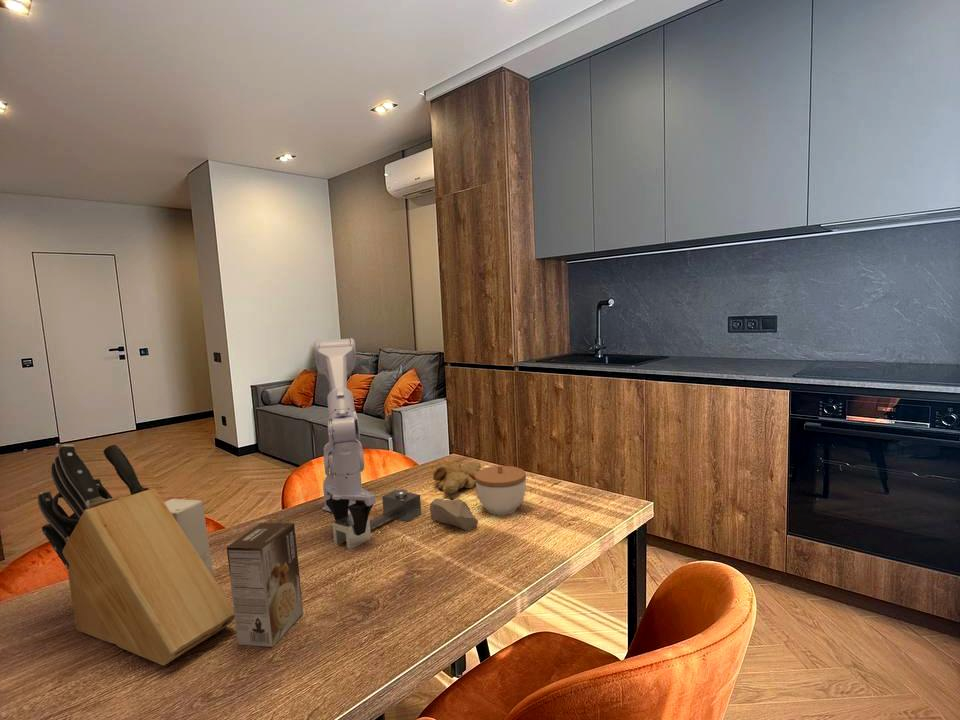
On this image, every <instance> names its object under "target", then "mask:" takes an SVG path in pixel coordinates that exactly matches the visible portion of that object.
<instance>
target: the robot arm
mask: <svg viewBox="0 0 960 720" xmlns="http://www.w3.org/2000/svg"><path fill="white" fill-rule="evenodd" d="M313 347H314V348H313V349H314V359H315V366H316V370H318V371H317V372H318V373H320V374H322V375H324V376H325V377H326V379H327V381H328V387H329V393H328V394H327V399H326V400H327V409H328V421H327V432H328V433H327V434H328V442H327V443H326V444H324V446H323V463H324V474H325V476H326V477H325V478H324V480H323V484H322V486H323V487H322V489H323V501H324V502H323V503H324V506H323V507H322V510H323V511H326V512H330V513H331V514H332V516H333V519H334V522H335V521H337V520H339V519H341V518H343V517H345V516H348V515H350V514H352V517H353V521H354V527H355V532H356V535H358V536H359V535H361V534H363V533H365V531H366V525H367V520H368V517H370V513H371V511H372V509H373V506H374V505H375V504H376V494H374V493H371V492H370V491H368V490H366V489H365V488H363V487H362V475H361V474H362V473H361V472H364V470H365V458H364V451H363V445H362V442H361V441H360V438H361V431H360V430H361V428H360V421H359V418H358V415H357V411H356V408H355V402H354V399H355V398H354V394H353V392H352V391H351V390H350V389H348V384H347V383H348V382H347V381H348V378H347V376H348V374H349V373H351V372H352V371H354V370H355V367H356V361H357V350H356V349H357V348H356V342H355V339H353V337H349V338H341V339H338V338H337V339H325V340H317V339H316V340H315V341H314V342H313Z"/></svg>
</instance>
